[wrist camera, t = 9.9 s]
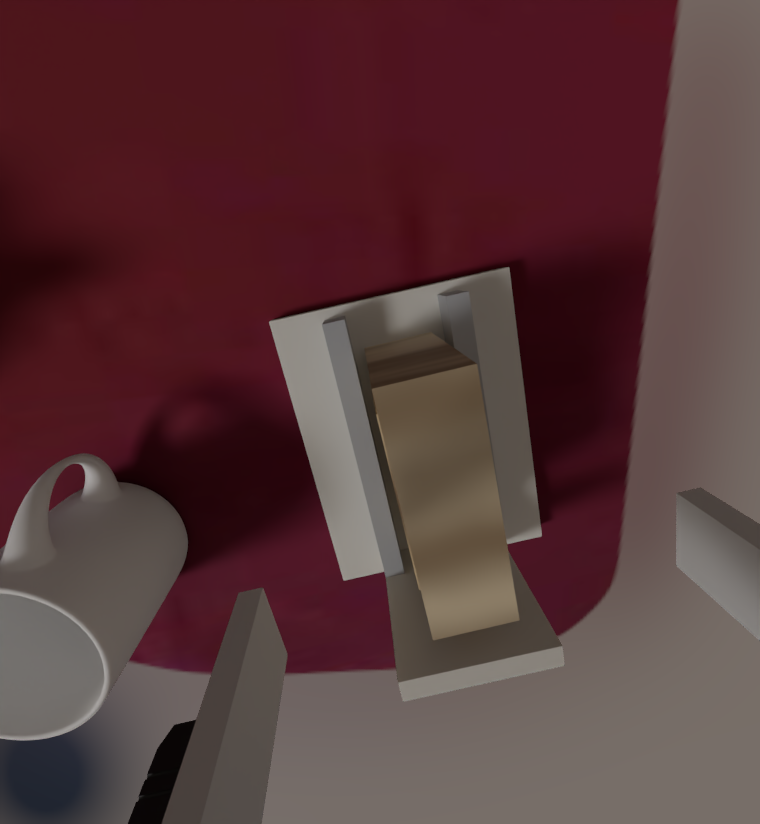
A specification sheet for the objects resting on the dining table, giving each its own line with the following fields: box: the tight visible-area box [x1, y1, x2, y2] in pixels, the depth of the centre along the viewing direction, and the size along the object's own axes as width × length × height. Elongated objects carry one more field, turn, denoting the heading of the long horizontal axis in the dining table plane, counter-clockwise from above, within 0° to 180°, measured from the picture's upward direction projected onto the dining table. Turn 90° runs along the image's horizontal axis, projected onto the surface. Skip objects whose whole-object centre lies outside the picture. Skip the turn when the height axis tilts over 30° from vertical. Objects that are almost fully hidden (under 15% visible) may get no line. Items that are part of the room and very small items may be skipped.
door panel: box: [364, 332, 520, 640], centre depth 23 cm, size 12×4×10 cm, turn 13°
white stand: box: [269, 267, 565, 702], centre depth 24 cm, size 18×14×11 cm
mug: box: [0, 454, 188, 740], centre depth 24 cm, size 9×12×11 cm
